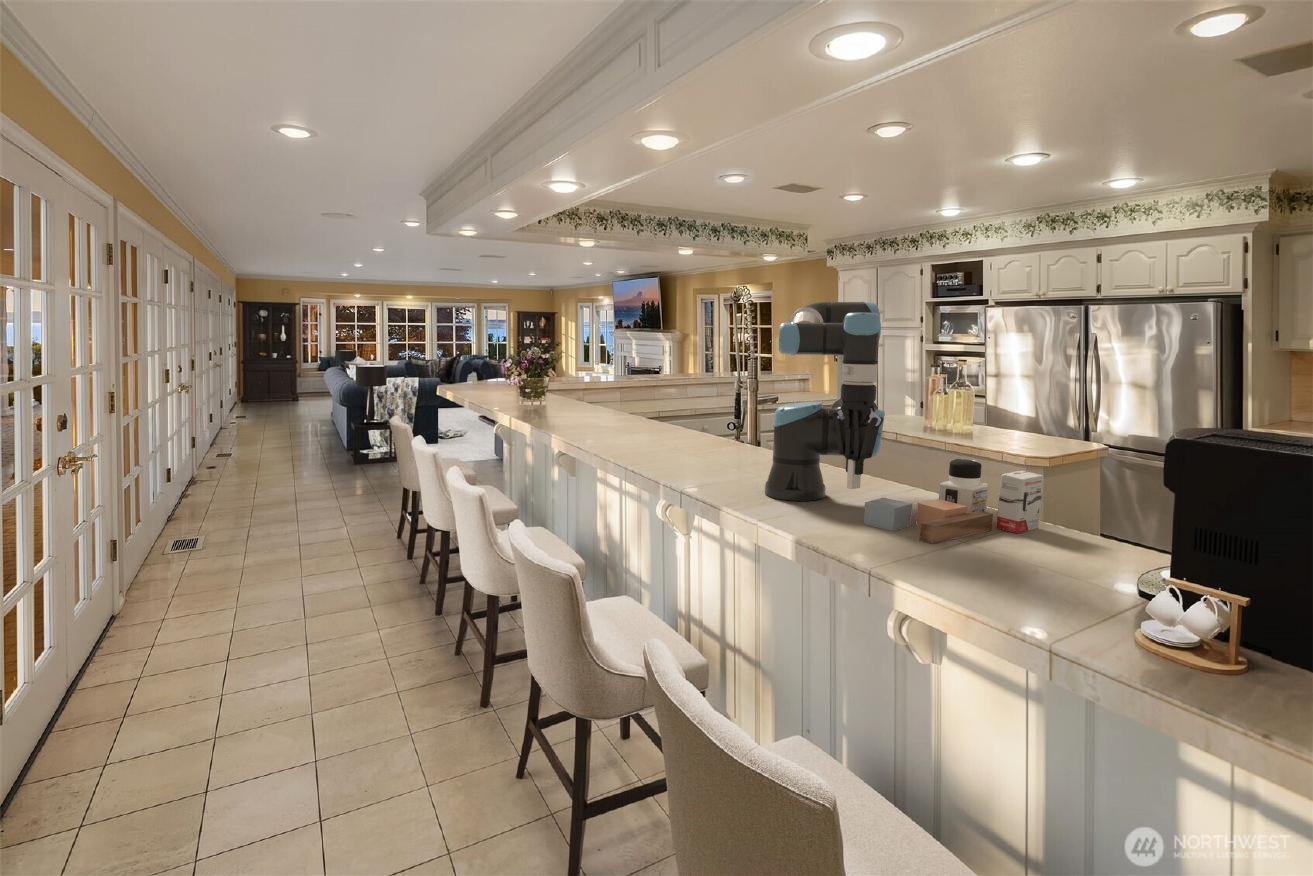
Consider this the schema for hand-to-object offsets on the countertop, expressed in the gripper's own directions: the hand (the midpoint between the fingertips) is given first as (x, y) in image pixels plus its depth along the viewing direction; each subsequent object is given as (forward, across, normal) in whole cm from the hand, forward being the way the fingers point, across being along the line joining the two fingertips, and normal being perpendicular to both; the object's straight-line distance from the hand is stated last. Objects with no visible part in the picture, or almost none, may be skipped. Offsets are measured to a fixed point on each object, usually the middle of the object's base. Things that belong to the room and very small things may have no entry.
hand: (853, 487), depth 159 cm
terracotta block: (+7, +16, +9) cm, 20 cm away
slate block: (+7, +10, 0) cm, 12 cm away
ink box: (+7, +26, +22) cm, 35 cm away
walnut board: (+6, +22, +7) cm, 24 cm away
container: (+6, +14, +20) cm, 25 cm away
